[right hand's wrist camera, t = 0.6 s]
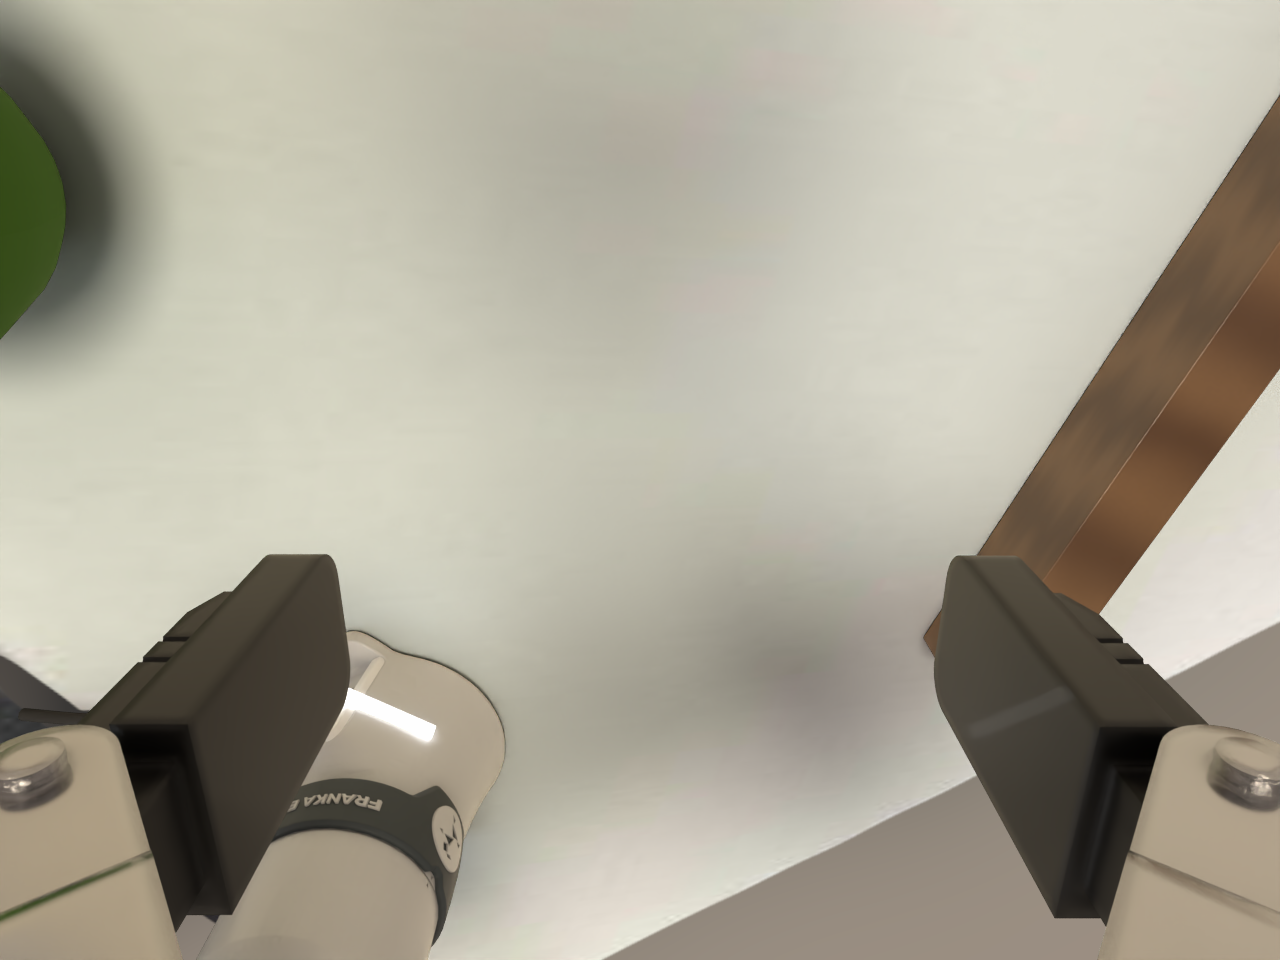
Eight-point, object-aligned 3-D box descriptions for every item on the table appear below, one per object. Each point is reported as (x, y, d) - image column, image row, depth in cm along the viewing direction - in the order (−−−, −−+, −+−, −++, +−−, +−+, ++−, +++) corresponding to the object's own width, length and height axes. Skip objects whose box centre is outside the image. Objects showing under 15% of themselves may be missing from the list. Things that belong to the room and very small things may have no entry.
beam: (1472, -198, 40) (1632, -265, 34) (1539, -155, 41) (1708, -212, 35) (922, 637, 57) (958, 700, 51) (976, 659, 58) (1018, 724, 52)
